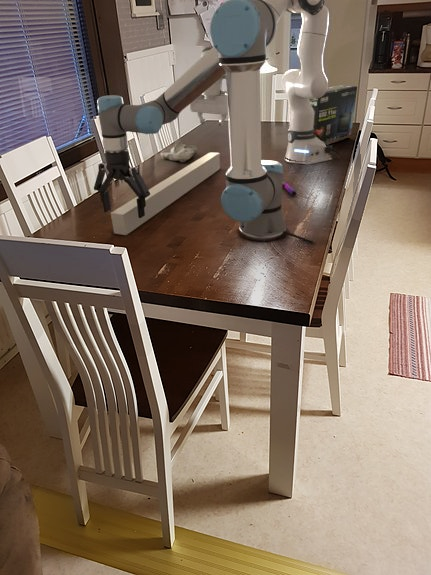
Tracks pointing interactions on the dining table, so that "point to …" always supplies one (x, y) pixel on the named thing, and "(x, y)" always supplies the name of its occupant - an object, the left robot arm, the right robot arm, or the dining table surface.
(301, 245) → the dining table surface
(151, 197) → the post
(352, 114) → the router box
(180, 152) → the fossil
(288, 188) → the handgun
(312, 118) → the right robot arm
